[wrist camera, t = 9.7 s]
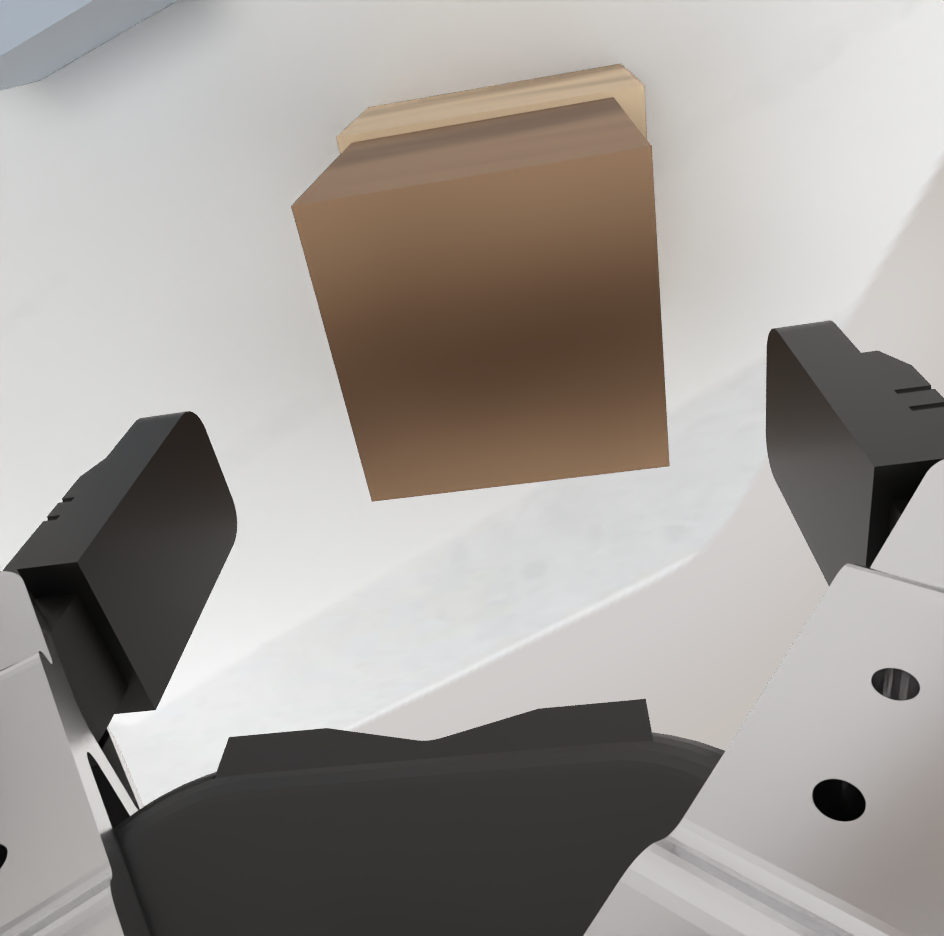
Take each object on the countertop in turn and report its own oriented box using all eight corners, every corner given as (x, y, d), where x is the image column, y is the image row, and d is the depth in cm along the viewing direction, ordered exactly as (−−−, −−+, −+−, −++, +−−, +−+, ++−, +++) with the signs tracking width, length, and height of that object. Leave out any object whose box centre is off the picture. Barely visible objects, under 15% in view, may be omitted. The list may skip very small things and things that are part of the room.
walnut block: (351, 142, 19) (291, 206, 14) (613, 96, 18) (651, 146, 13) (405, 377, 22) (372, 501, 17) (632, 347, 21) (669, 465, 16)
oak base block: (369, 106, 23) (336, 137, 19) (620, 62, 22) (643, 85, 18) (417, 337, 27) (398, 407, 23) (636, 307, 26) (659, 374, 22)
